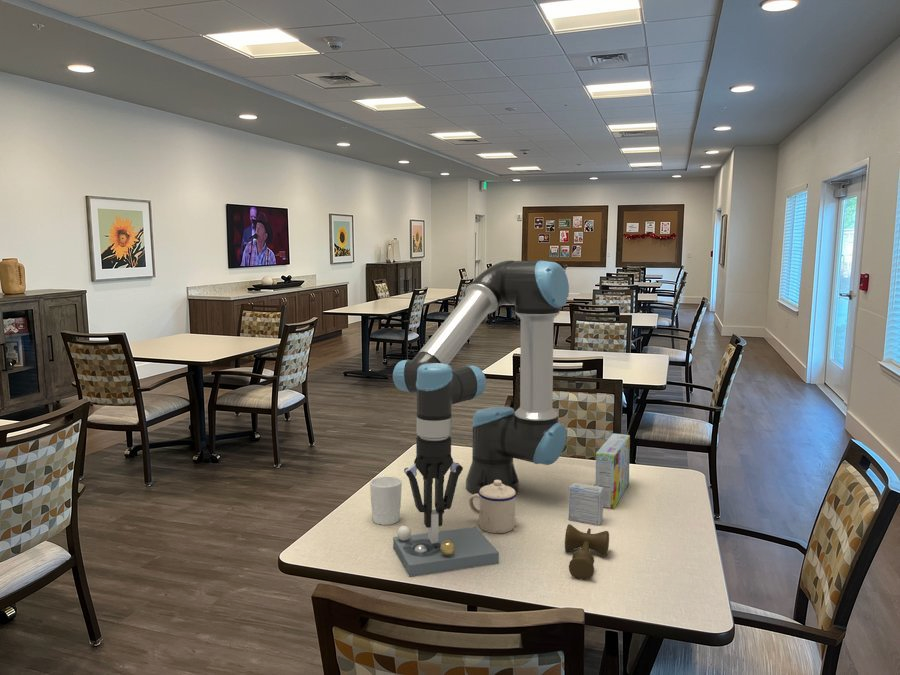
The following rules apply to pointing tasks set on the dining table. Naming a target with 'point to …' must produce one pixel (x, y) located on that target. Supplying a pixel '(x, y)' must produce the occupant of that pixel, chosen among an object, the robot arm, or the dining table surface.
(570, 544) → the kendama
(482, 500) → the teacup with lid
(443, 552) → the brass ball
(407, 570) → the gray ball tray
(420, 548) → the steel ball
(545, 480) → the dining table surface
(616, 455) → the snack box
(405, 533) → the white ball
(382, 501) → the white cup
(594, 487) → the medicine box
